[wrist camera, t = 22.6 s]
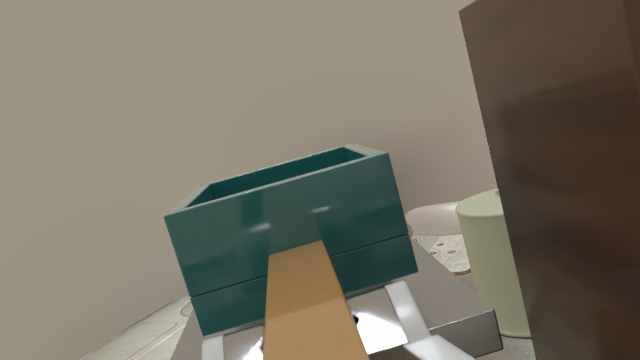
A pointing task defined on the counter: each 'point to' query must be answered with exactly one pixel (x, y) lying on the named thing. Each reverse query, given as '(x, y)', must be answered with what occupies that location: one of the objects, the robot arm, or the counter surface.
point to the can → (493, 261)
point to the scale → (432, 300)
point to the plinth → (566, 163)
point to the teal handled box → (294, 249)
